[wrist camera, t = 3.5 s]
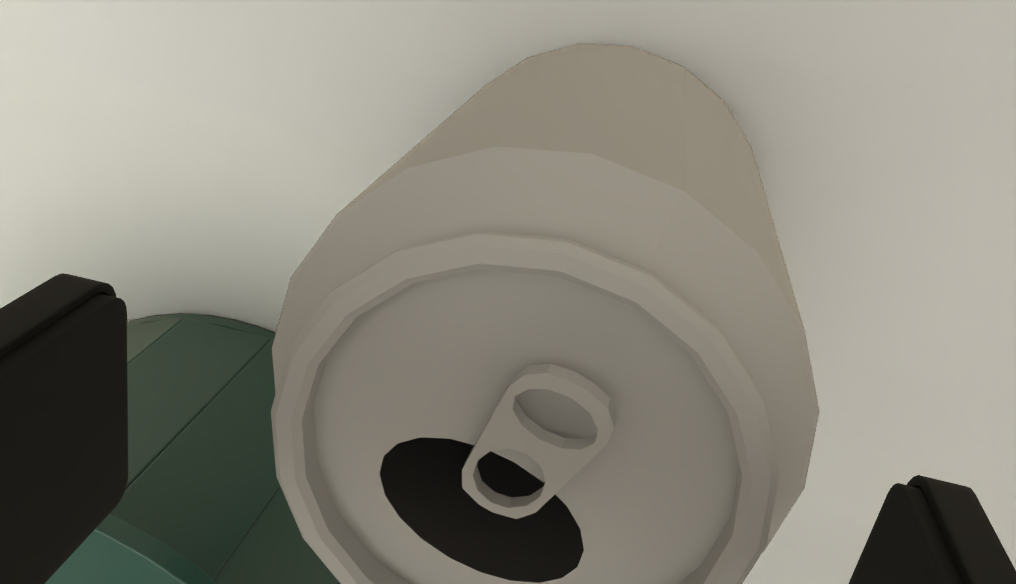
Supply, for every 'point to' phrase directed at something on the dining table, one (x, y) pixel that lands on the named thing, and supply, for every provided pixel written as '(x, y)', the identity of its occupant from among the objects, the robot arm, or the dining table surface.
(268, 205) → the dining table surface
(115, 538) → the pot lid
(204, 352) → the pot
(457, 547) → the can
